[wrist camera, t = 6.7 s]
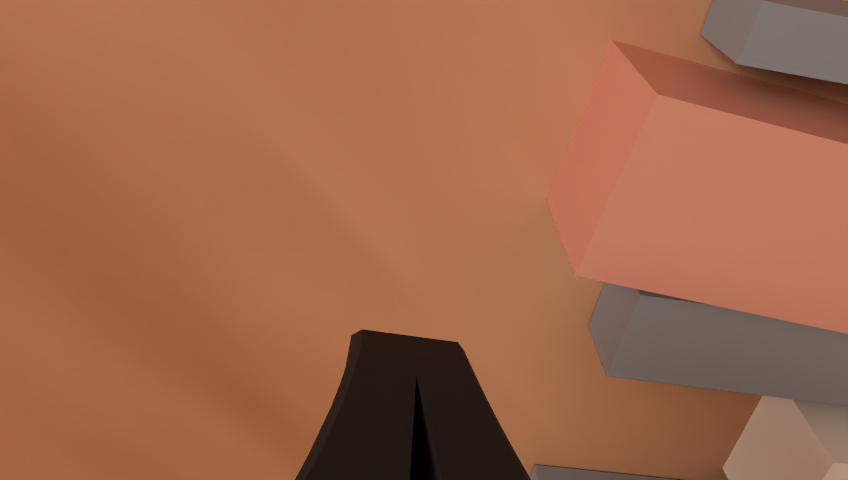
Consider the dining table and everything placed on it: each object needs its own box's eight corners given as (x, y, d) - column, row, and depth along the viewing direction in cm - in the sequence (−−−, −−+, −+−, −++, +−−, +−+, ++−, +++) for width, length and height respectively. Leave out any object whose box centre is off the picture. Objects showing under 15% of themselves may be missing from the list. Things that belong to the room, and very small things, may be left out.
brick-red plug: (829, 260, 19) (909, 347, 16) (545, 194, 18) (575, 275, 15) (922, 122, 17) (1032, 192, 14) (608, 36, 16) (658, 94, 13)
